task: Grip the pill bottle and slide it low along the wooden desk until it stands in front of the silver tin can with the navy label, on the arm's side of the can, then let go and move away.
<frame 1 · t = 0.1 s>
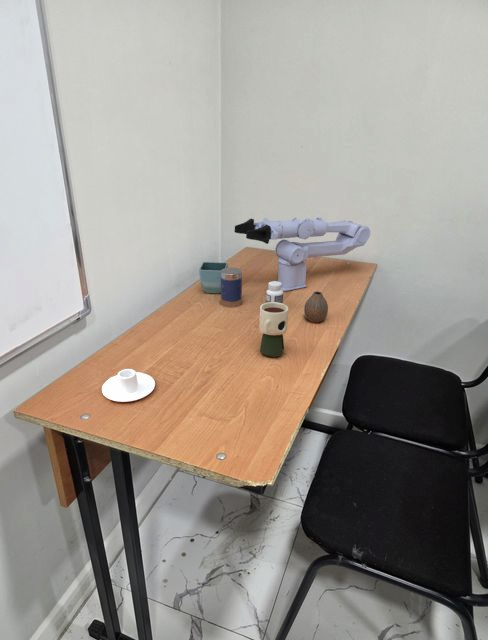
hand: (240, 232, 140), 22 cm above the table, tool horizontal, fingers open, 7 cm apart
character mug: (272, 353, 117), on the table
flower pot: (214, 291, 155), on the table
pill bottle: (274, 310, 141), on the table
candle holder: (129, 389, 103), on the table
tin can: (231, 303, 145), on the table
vase: (314, 320, 134), on the table
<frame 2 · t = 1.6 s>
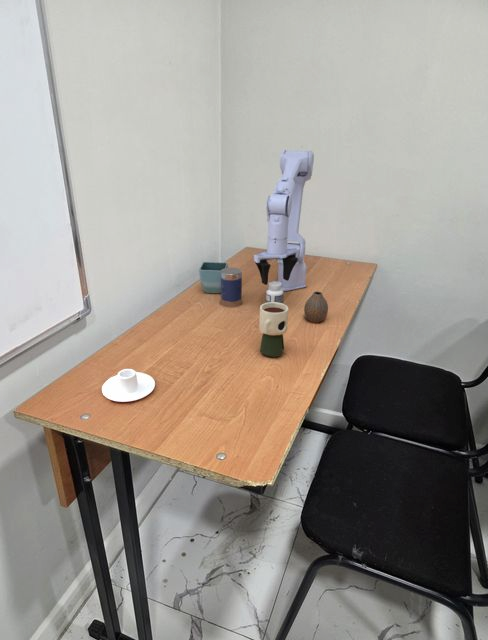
hand: (275, 281, 136), 9 cm above the table, tool pointing down, fingers open, 7 cm apart
nothing on the table moved.
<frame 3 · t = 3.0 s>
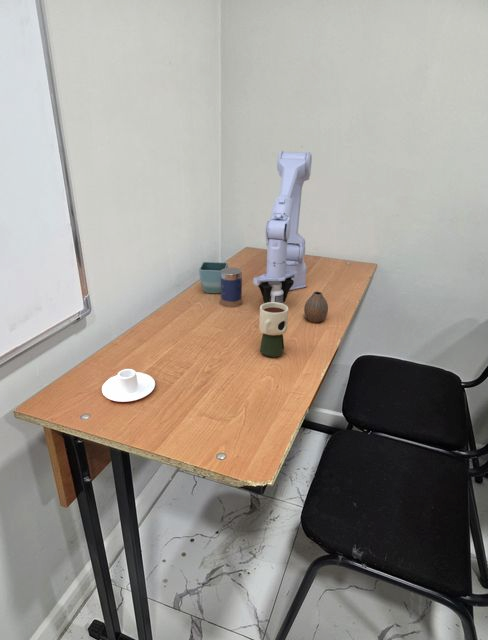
hand: (274, 302, 139), 2 cm above the table, tool pointing down, fingers closed on pill bottle, 5 cm apart
pill bottle: (274, 310, 141), on the table, touching gripper
everything else where it was.
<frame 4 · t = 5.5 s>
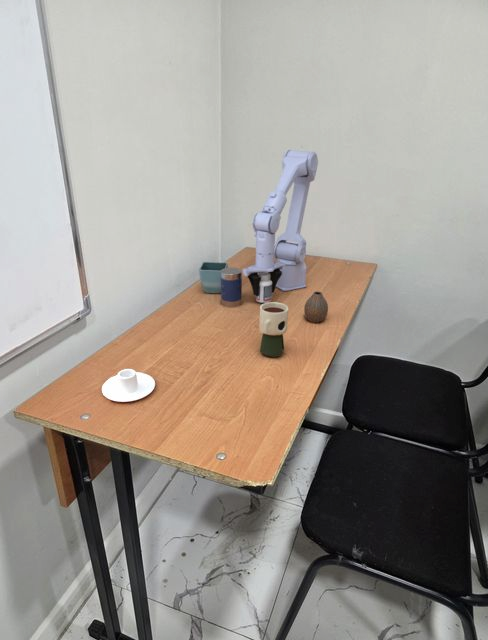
hand: (263, 293, 144), 3 cm above the table, tool pointing down, fingers closed on pill bottle, 5 cm apart
pill bottle: (263, 300, 146), point 1 cm above the table, touching gripper
everything else where it was.
when the fingers open (2 cm above the table, at t = 8.0 s): pill bottle stays where it is, on the table.
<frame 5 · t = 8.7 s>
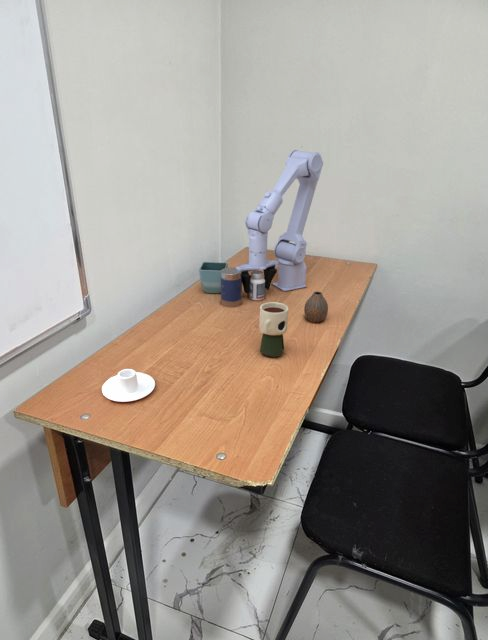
hand: (256, 290, 148), 3 cm above the table, tool pointing down, fingers open, 7 cm apart
pill bottle: (256, 298, 149), on the table
everything else where it was.
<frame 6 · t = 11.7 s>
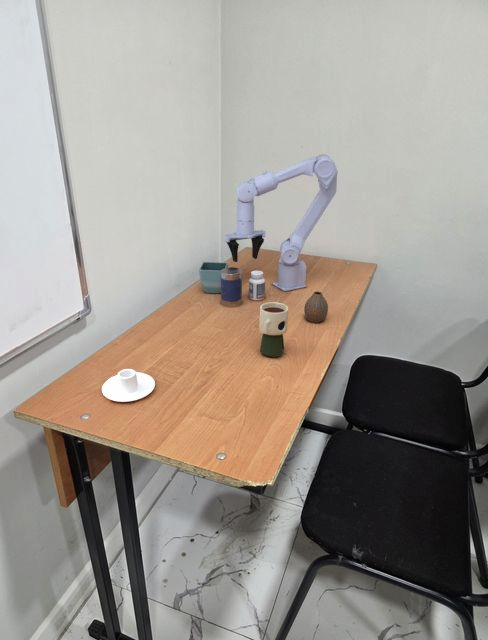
hand: (244, 259, 155), 9 cm above the table, tool pointing down, fingers open, 7 cm apart
nothing on the table moved.
at the end: pill bottle 0.2 cm from the target spot on the table beside the tin can, on the table; pill bottle tilted 0°; tin can moved 0.0 cm from its start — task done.
